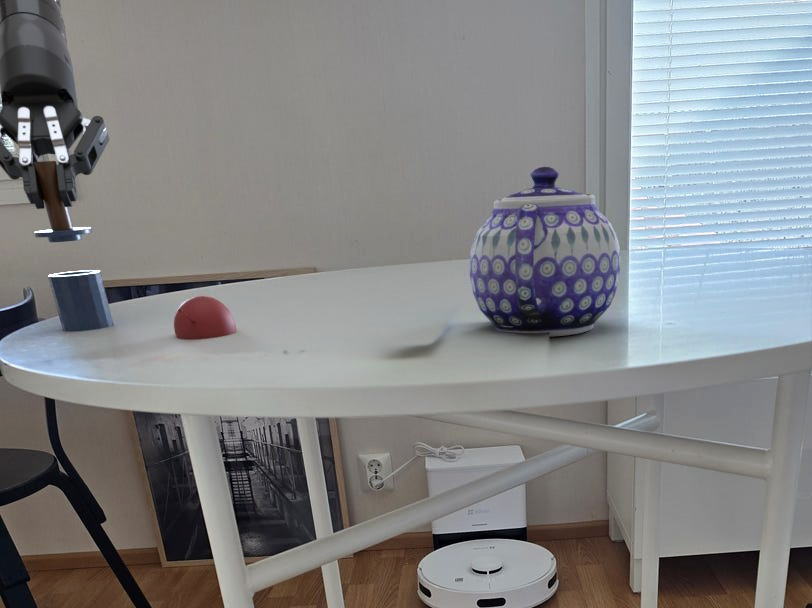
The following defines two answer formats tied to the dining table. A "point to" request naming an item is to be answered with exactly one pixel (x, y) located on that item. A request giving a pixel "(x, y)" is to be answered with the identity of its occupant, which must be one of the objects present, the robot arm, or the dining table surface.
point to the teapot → (545, 260)
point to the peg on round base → (56, 207)
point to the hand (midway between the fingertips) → (51, 201)
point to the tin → (81, 300)
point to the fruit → (203, 319)
